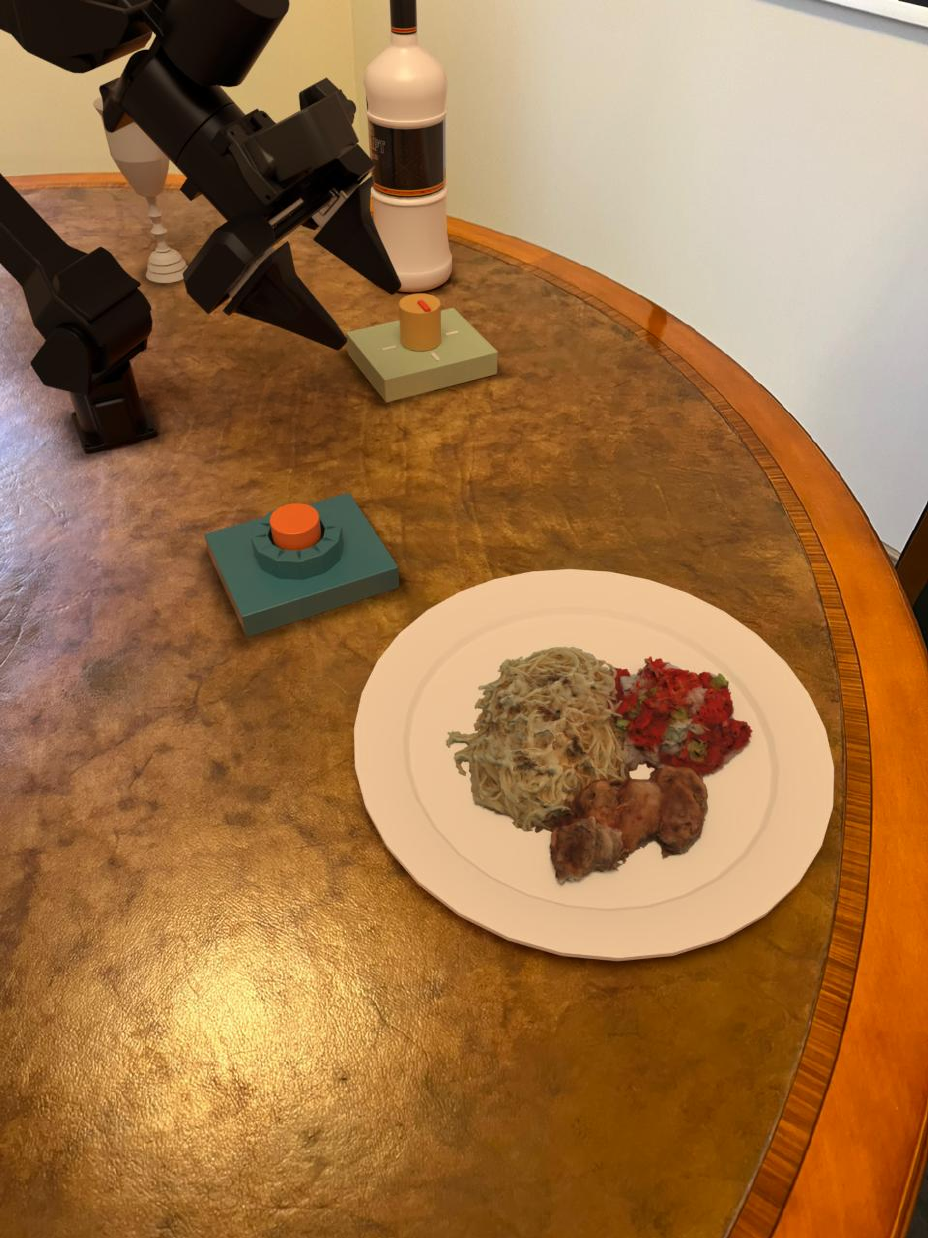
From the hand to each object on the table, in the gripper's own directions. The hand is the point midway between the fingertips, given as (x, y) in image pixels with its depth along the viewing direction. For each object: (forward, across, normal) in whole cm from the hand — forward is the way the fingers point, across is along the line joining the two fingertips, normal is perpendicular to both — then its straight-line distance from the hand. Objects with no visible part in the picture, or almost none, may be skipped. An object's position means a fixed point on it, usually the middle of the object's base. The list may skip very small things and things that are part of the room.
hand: (371, 316), depth 67 cm
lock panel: (+7, +22, +15) cm, 27 cm away
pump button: (+7, -10, +11) cm, 17 cm away
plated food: (+28, -18, -3) cm, 34 cm away
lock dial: (+5, +22, +13) cm, 26 cm away
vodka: (0, +39, +21) cm, 44 cm away
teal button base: (+10, -10, +14) cm, 20 cm away
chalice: (-19, +30, +39) cm, 53 cm away
